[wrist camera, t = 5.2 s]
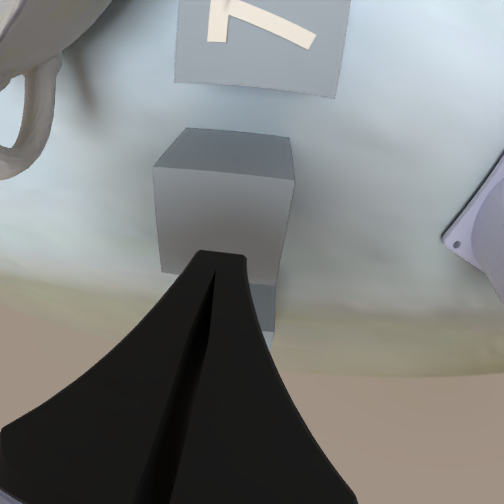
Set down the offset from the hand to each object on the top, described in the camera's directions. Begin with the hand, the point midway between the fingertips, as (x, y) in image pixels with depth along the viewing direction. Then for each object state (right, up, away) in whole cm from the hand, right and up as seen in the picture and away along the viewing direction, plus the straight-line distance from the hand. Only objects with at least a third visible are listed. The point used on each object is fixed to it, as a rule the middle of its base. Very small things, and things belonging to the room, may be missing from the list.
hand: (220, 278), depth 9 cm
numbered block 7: (+1, +10, +1) cm, 10 cm away
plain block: (0, +4, +5) cm, 7 cm away
